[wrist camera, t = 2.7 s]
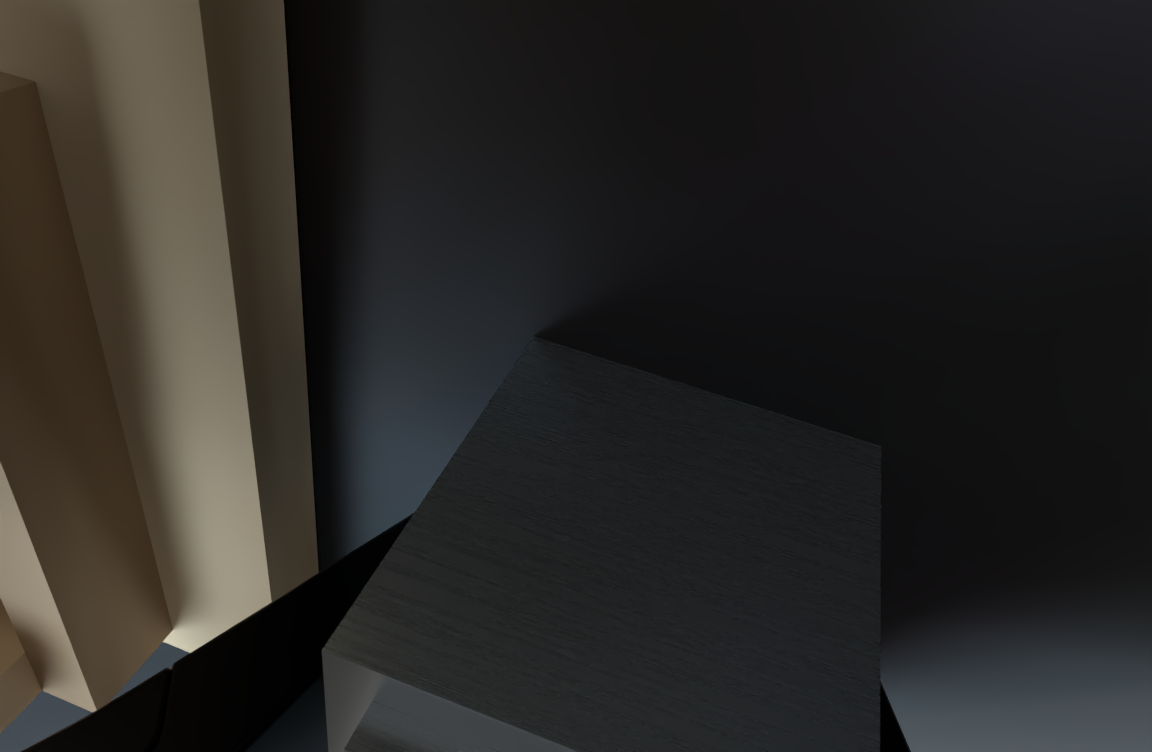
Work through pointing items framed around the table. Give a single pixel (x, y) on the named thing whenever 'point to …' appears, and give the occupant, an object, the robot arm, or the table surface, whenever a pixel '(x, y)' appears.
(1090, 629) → the table surface
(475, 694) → the brushed metal cube
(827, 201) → the table surface
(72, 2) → the chassis board
